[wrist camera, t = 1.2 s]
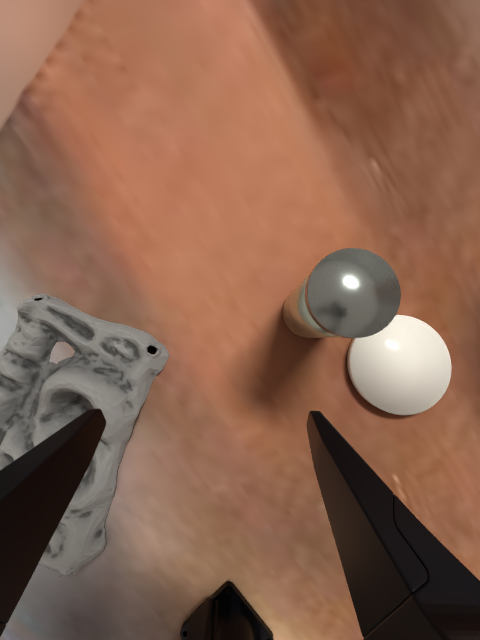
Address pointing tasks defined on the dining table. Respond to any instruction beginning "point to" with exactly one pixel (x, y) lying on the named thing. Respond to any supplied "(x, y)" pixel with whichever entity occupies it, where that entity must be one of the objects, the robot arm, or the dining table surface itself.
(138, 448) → the dining table surface
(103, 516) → the wall plaque
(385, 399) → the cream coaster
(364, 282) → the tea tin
